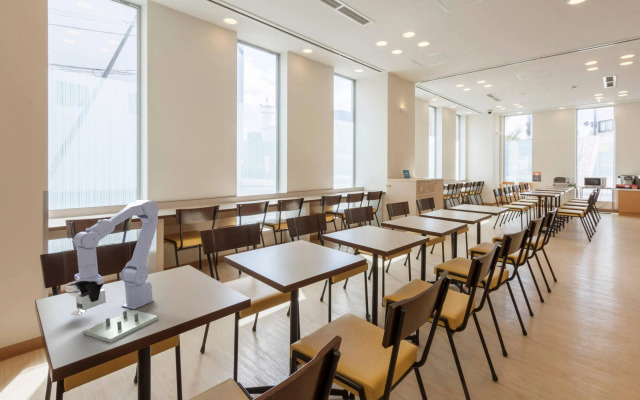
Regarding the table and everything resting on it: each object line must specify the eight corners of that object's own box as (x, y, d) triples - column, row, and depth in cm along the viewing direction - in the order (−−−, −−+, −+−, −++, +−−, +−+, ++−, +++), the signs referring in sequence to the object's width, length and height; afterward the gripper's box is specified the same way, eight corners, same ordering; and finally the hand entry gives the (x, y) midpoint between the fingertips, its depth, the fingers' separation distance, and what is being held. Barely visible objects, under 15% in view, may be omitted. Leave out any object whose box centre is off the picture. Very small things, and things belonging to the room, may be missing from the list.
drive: (99, 300, 126) (98, 288, 126) (105, 302, 125) (104, 289, 124) (76, 309, 119) (75, 295, 119) (83, 310, 118) (82, 297, 117)
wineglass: (82, 315, 128) (79, 285, 127) (63, 316, 128) (61, 286, 126) (92, 308, 135) (90, 279, 134) (75, 308, 134) (73, 280, 133)
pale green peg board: (132, 312, 130) (132, 303, 129) (157, 319, 124) (157, 309, 124) (84, 334, 113) (83, 323, 113) (110, 342, 108) (109, 331, 107)
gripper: (64, 265, 120) (67, 301, 121) (88, 269, 114) (92, 307, 115) (84, 260, 126) (87, 294, 128) (108, 264, 120) (111, 299, 122)
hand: (91, 300), depth 122 cm, fingers closed on drive, 4 cm apart
